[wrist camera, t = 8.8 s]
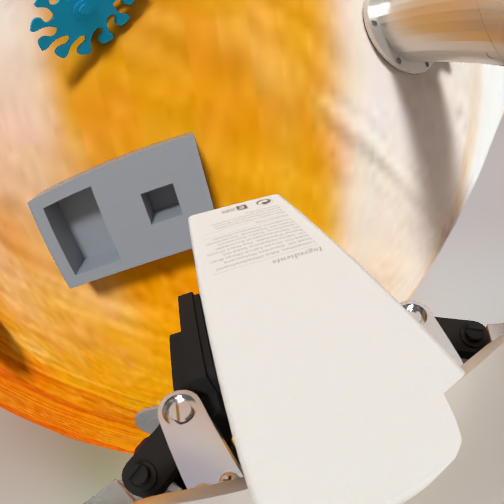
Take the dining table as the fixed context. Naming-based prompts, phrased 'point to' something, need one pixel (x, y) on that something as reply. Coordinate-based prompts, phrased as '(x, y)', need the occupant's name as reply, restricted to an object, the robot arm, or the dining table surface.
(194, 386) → the robot arm
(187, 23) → the dining table surface
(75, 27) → the gear
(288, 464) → the skincare box
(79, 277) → the stand
